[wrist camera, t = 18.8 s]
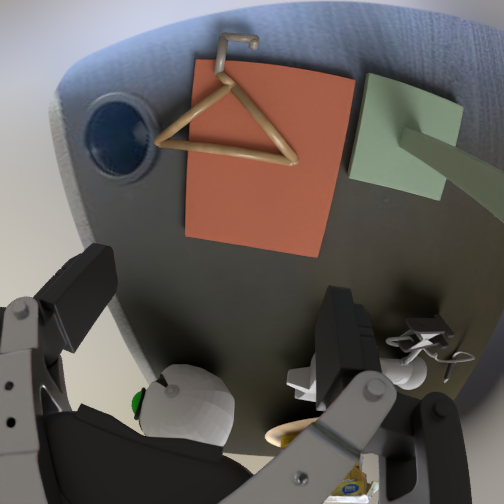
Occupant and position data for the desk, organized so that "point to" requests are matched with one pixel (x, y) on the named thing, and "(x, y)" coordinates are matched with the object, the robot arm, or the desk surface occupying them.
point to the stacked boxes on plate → (351, 486)
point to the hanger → (230, 86)
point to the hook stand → (418, 145)
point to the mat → (264, 173)
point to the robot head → (186, 406)
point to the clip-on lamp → (417, 338)
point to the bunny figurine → (304, 381)
